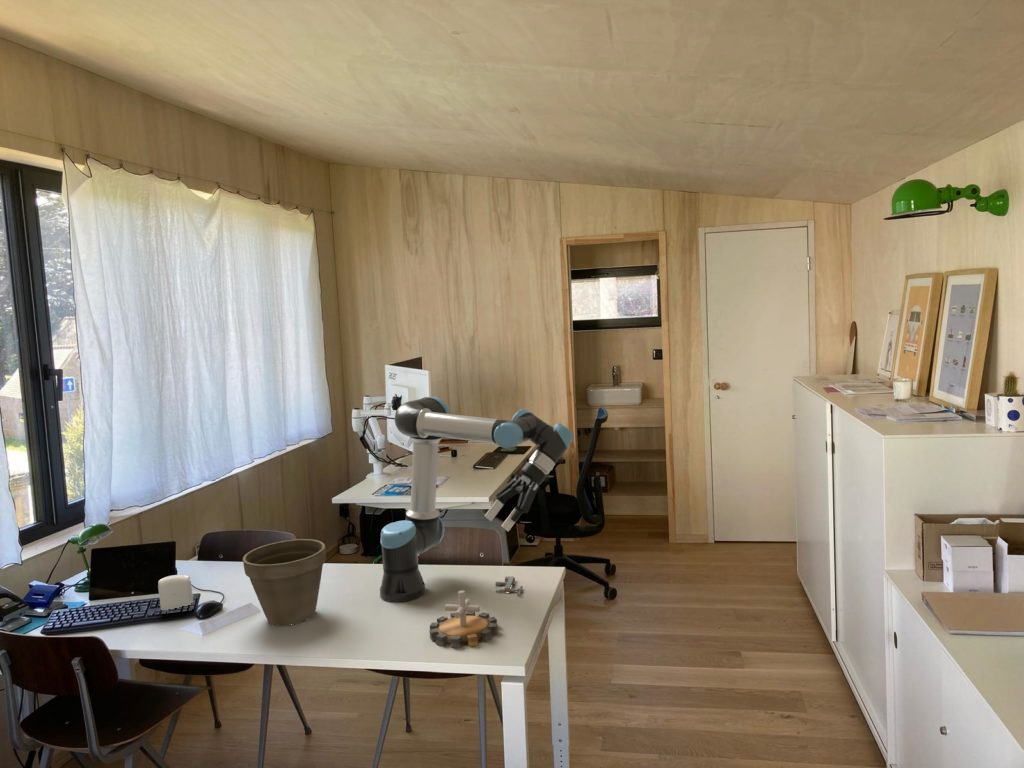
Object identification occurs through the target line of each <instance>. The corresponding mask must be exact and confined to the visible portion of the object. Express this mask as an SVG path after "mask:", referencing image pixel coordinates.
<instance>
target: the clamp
mask: <svg viewBox="0 0 1024 768" xmlns="http://www.w3.org/2000/svg"><path fill="white" fill-rule="evenodd" d="M494 583H495V587H497V586H498V587H499V586H500V587H501V586H505V587H504V589H496V590H495V592H499V593H505V592H510V593H514V592H516V591H517V594H516V596H517V597H521V593H523V590H524V589H523V588H524V586H523V585H521V586H519V588H513V589H512V588H511V589H510V587H511V585H513V586H514V585H515V583H516V577H515V576H514V575H513V576H508V575H507V576H505V577H504V581H495V582H494Z"/></svg>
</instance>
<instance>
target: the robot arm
mask: <svg viewBox="0 0 1024 768" xmlns="http://www.w3.org/2000/svg"><path fill="white" fill-rule="evenodd" d="M394 423H395V427H396V428H397V431H399V432H400V433H401V434H402V435H404V436H407V437H409V438H410V439H411V441H412V463H411V464H412V465H411V467H412V468H411V489H410V492H411V493H410V507H409V509H407V510H406V511H405V520H398V521H395V522H390V523H388V524H386V525H385V526H384V527H383V528H382V529H381V532H380V546H381V547H380V548H381V557H382V569H383V575H382V579H381V584H380V587H379V596H380V598H381V600H383V599H384V601H386V600H388V601H387V602H394V601H397V602H407V601H411V600H416V599H418V598H420V597H422V596H423V595H424V594H425V593H426V591H427V590H426V583H425V581H424V578H423V576H422V574H421V571H420V569H419V558H418V556H420V555H422V554H423V553H425V552H427V551H429V550H432V549H433V548H435V547H436V546H437V545H439V544H440V543H441V541H442V540H443V538H444V535H445V532H446V531H445V530H446V529H445V523H444V521H442V518H441V517H440V511H439V510H438V509H437V508H436V502H437V499H436V498H437V478H438V477H437V476H438V460H439V459H438V457H439V456H438V455H439V442H441V440H442V439H443V438H446V439H447V438H448V439H454V440H463V441H464V440H465V441H470V442H471V441H472V442H478V443H479V442H480V443H488V444H496V445H498V446H499V447H501V448H503V449H509V448H516V447H517V446H518V445H520V444H523V443H525V442H528V441H529V442H531V443H533V444H534V445H535V446H537V448H536V449H535V451H534V452H533V453H532V455H531V456H530V457H529V458H528V461H527V462H526V463H525V464H524V465H523V467H522V468H521V470H520V472H521V473H522V475H521V476H519V475H518V474H516V475H515V476H514V477H513V478H512V479H511V480H510V481H509V482H508V483H507V484H506V485H505V486H504V487H502V488H501V489H500V490H499V491H498V492H497V493H496V494H495V499H496V500H495V501H494V502H493V504H492V505H491V507H490V508H489V509H488V510H487V512H486V513H485V514H484V518H486V519H487V520H489V521H490V522H492V521H493V520H494V518H495V517H496V516H497V515H498V514H499V512H500V510H501V509H502V508H503V507H504V506H505V505H506V504H505V503H506V502H507V501H509V500H510V499H511V498H512V497H514V496H515V495H519V496H518V500H517V505H516V506H514V508H513V510H511V512H510V514H509V515H508V517H506V519H505V520H504V521H503V522H502V524H501V525H500V526H501V527H502V528H503V529H504V530H505V531H507V532H508V533H509V531H511V529H512V527H513V526H514V524H516V522H517V521H518V519H519V518H520V517H521V515H523V514H528V513H529V511H530V509H531V507H532V504H533V502H534V499H535V497H536V495H537V492H538V491H539V490H540V487H541V486H540V485H542V483H543V482H544V481H545V479H546V478H547V475H549V474H550V472H551V471H553V469H554V466H556V464H557V463H558V461H559V460H560V459H561V457H562V456H564V453H566V451H567V450H568V449H569V447H570V445H571V444H572V442H573V440H574V439H575V438H574V434H573V433H574V432H572V431H571V430H570V429H569V428H568V427H566V426H565V425H563V424H561V423H559V422H558V423H554V425H553V426H551V425H550V424H548V423H547V422H545V421H544V420H542V419H541V418H540V417H538V416H537V415H535V414H534V413H533V412H531V411H529V410H528V409H525V408H521V409H519V410H518V411H516V413H515V414H513V416H512V418H511V420H507V419H497V418H490V417H480V416H471V415H461V414H454V413H452V414H451V413H450V409H449V407H448V405H447V404H446V403H445V401H444V400H442V399H441V398H439V397H436V396H424V397H422V398H419V399H415V400H410V401H407V402H403V404H401V405H400V406H399V407H398V408H397V410H396V412H395V415H394Z"/></svg>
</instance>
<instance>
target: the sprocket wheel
mask: <svg viewBox="0 0 1024 768" xmlns="http://www.w3.org/2000/svg"><path fill="white" fill-rule="evenodd" d="M454 614H455V612H452V613H450V617H449V618H448V617H446V616H440V617H437V618H436V622H431V623H430V625H429V638H430V640H431V642H434V641H436V645H437V646H440V647H444V646H446V645H451V647H450V648H452V649H453V648H455V649H459V648H461V647H462V645H463V646H465V645H468V647H470V648H471V647H475V646H478V645H479V642H484V643H487V642H489V641H491V640H492V639H493V636H497V634H498V633H499V629H498V621H497V618H496V617H495V616H490V613H487V612H481V613H479V614H478V615H476V612H466V622H467V625H466V626H460V618H456V617H455V616H454ZM478 641H479V642H478Z"/></svg>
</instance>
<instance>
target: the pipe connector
mask: <svg viewBox="0 0 1024 768" xmlns="http://www.w3.org/2000/svg"><path fill="white" fill-rule="evenodd" d="M465 592H466V591H465V590H458V591H457V593H458V604H453V603H451V604H450V603H448V604H447V603H446V604H445V607H444V610H445V612H446V611H447V612H448V611H449V612H454V613H455V614H454V616H455V617H456V618H460V626H466V625H467V622H466V613H467V612H475V613H480V611H481V610H480V609H481V606H480V605H474V604H472V605H470V604H471V600H470V599H469V598H466V593H465Z"/></svg>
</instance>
